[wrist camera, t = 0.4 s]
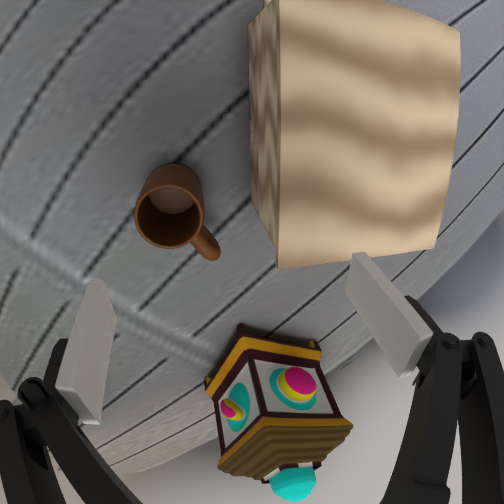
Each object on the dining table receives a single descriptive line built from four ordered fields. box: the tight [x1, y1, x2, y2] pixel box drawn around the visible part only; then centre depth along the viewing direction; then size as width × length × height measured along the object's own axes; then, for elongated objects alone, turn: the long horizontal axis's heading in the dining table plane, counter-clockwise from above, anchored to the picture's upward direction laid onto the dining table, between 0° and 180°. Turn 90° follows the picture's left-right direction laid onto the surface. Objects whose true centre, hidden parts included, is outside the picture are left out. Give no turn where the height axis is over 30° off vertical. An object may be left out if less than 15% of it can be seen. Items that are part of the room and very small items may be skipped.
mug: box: [134, 164, 221, 261], centre depth 36 cm, size 12×8×9 cm, turn 38°
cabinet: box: [248, 0, 460, 269], centre depth 30 cm, size 25×20×16 cm
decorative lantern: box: [204, 324, 353, 502], centre depth 46 cm, size 20×20×30 cm
